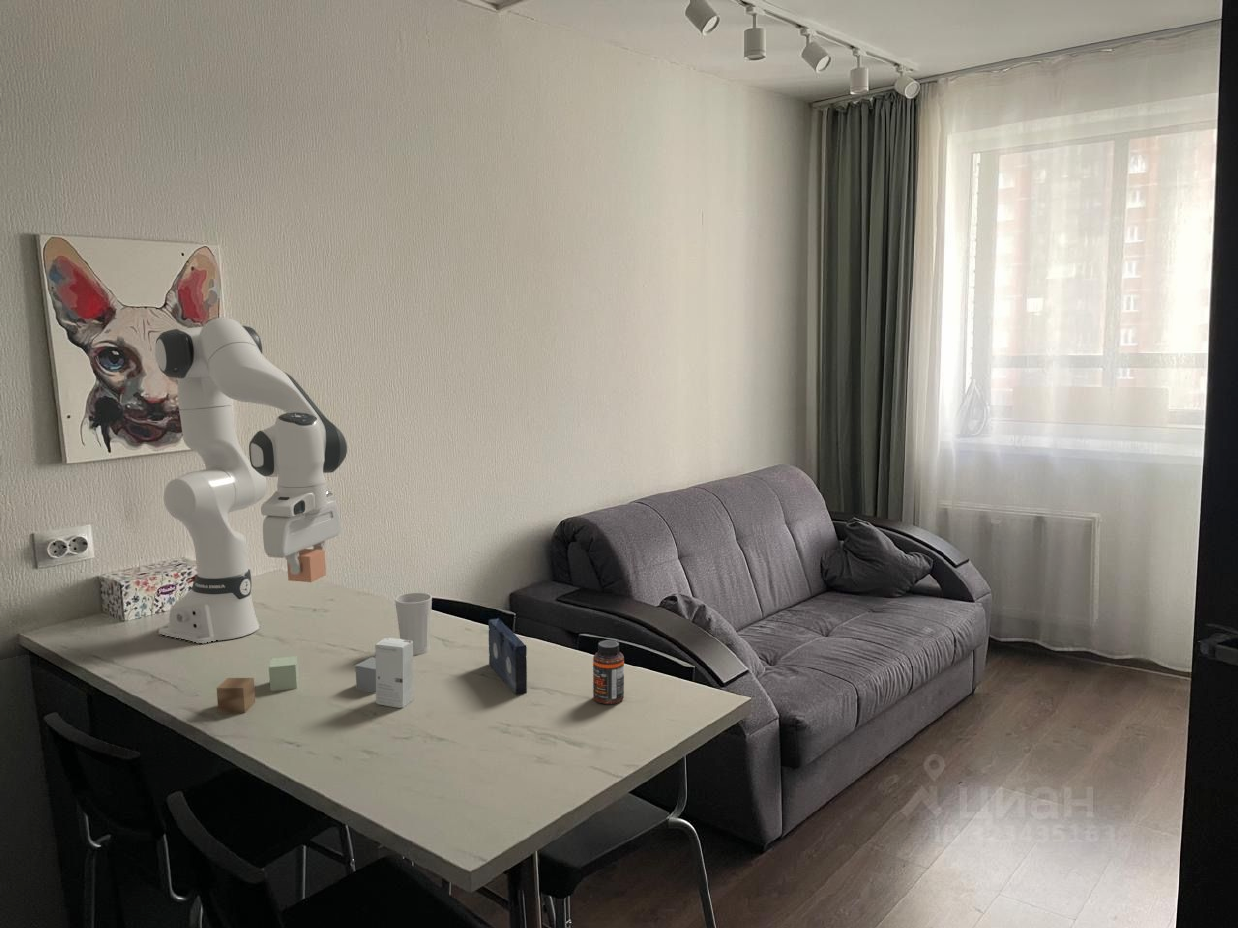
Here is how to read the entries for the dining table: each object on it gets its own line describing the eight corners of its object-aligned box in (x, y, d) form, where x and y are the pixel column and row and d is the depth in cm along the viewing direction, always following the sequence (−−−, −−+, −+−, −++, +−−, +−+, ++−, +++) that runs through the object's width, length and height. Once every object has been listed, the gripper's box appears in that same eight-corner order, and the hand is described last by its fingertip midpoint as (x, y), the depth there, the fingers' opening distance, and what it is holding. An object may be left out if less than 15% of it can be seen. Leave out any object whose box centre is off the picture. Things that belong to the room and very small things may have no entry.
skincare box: (375, 705, 180) (372, 644, 178) (387, 696, 184) (385, 636, 182) (404, 708, 178) (401, 647, 176) (416, 699, 182) (413, 639, 180)
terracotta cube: (288, 580, 180) (286, 554, 180) (303, 573, 185) (302, 548, 184) (311, 582, 179) (309, 556, 178) (326, 575, 184) (324, 550, 183)
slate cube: (356, 689, 188) (355, 665, 187) (373, 680, 192) (372, 657, 191) (376, 693, 186) (375, 669, 185) (392, 684, 190) (391, 660, 189)
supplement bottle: (586, 699, 182) (586, 643, 180) (607, 690, 186) (606, 635, 184) (610, 708, 178) (609, 650, 176) (630, 698, 182) (630, 642, 180)
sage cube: (270, 691, 187) (268, 667, 186) (272, 681, 192) (271, 658, 191) (296, 688, 188) (295, 664, 187) (298, 679, 193) (297, 656, 192)
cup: (438, 644, 213) (436, 592, 211) (427, 656, 205) (425, 603, 203) (403, 643, 214) (401, 591, 212) (392, 655, 206) (389, 602, 204)
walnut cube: (218, 713, 176) (216, 687, 176) (229, 702, 181) (227, 677, 181) (244, 713, 176) (243, 688, 176) (255, 702, 181) (253, 677, 181)
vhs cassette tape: (527, 693, 185) (526, 645, 184) (513, 696, 184) (512, 647, 182) (502, 662, 202) (501, 617, 200) (488, 664, 201) (487, 619, 199)
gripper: (319, 488, 190) (322, 554, 193) (254, 508, 171) (259, 582, 173) (346, 489, 189) (350, 556, 191) (285, 509, 169) (289, 584, 171)
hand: (306, 569), depth 182 cm, fingers closed on terracotta cube, 5 cm apart
